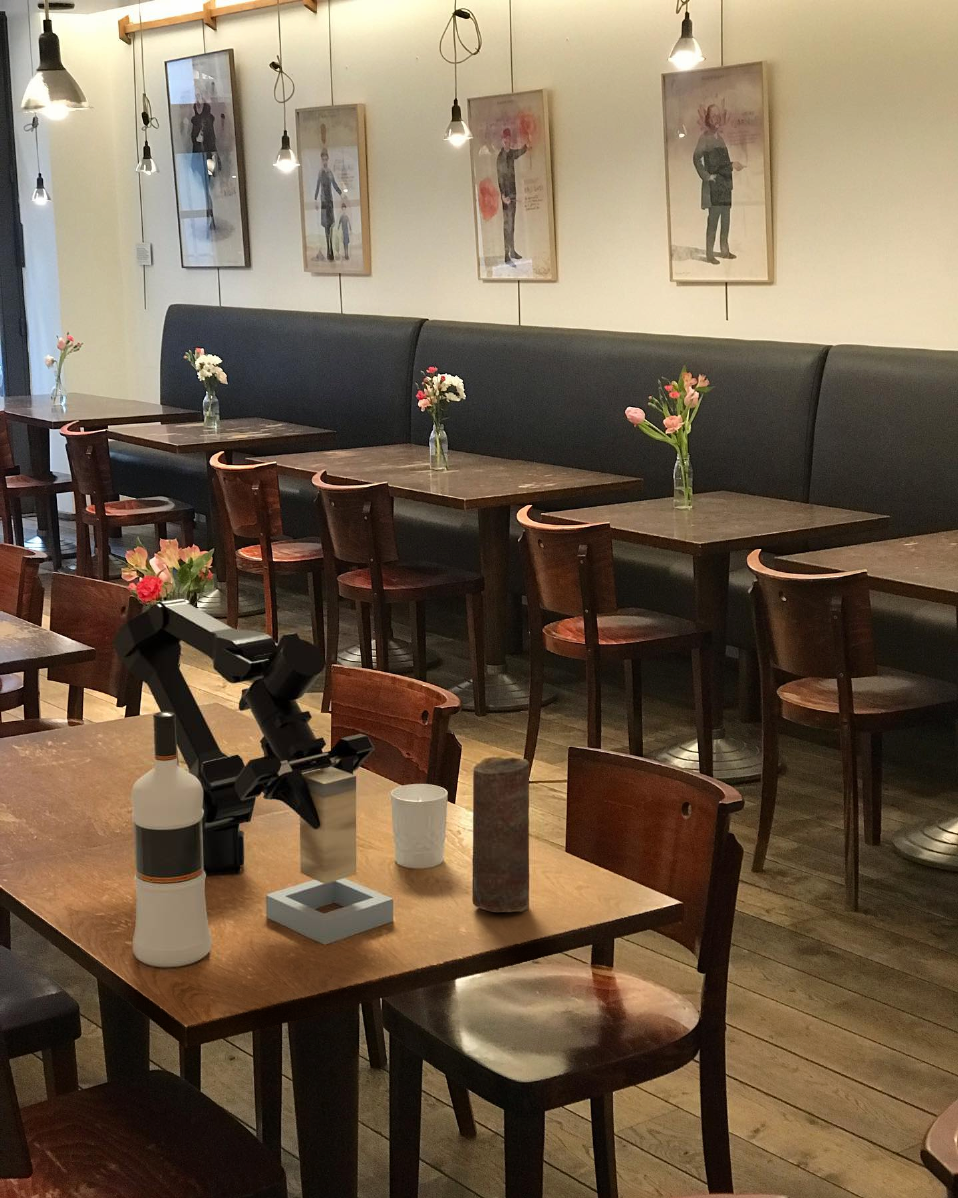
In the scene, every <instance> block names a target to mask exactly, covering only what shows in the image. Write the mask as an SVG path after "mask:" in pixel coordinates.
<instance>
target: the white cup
mask: <svg viewBox="0 0 958 1198" xmlns="http://www.w3.org/2000/svg"><path fill="white" fill-rule="evenodd" d="M390 801H391V805H390V806H391V819H392V820H391V823H392V833H393V843H394V860H395V862H396V864H398V865H400V866H401V867H404V868H409V869H418V870H420V869H430V868H434V867H437V866H439V865H441V864H442V863H443V861H444V857H445V842H446V829H447V814H448V811H447V810H448V790H447V789H445V788H444V787H441V786H438V785H434V784H430V783H429V784H428V783H413V784H404V785H401V786H397V787H395V788H393V789H392V790H391V791H390Z"/></svg>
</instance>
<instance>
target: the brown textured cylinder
mask: <svg viewBox="0 0 958 1198" xmlns="http://www.w3.org/2000/svg"><path fill="white" fill-rule="evenodd" d="M472 777H473V778H472V780H473V781H472V783H473V785H472V786H473V787H472V793H473V794H472V797H473V798H472V808H473V809H472V880H471V881H472V883H471V885H472V886H471V887H472V891H471V892H472V895H471V896H472V897H471V898H472V899H471V900H472V904H473V905H474V906H475V907H476V908H480V909H483V910H485V911H489V912H492V913H514V912H519V913H520V912H523V911H526V910H529V908H530V814H529V813H530V763H529V761H528V759H525V758H524V759H523V758H520V757H519V758H518V757H506V758H503V757H502V756H501V757H500V756H496V757H495V756H492V757H490V756H489V757H485V758H483V759H482V760H481V761H480V762H478V763H477V764H475V766H473V771H472Z"/></svg>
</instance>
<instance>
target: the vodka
mask: <svg viewBox="0 0 958 1198" xmlns="http://www.w3.org/2000/svg"><path fill="white" fill-rule="evenodd" d="M175 717H176V715H175V714H174V713H173V712H161V711H158V712H156V713H154V714H153V716H152V718H153V724H152V725H153V739H154V740H153V745H154V747H153V748H154V767H153V768H152V769H150V770H149V771H147V772H146V773H144V774H143V775H142V776H141V777H139V778H138V779H137V780H136V781H135V782H134V783H133V787H132V789H131V792H130V801H131V803H130V804H131V807H132V813H131V819H132V821H133V831H134V832H133V833H134V834H133V835H134V854H135V855H134V858H135V859H134V860H135V861H134V862H135V874H134V878H133V882H134V885H135V895H136V902H135V904H136V905H135V925H134V934H133V936H132V951H133V954H134V955H135V958H136V959H137V960H138V961H140V962H142V963H144V964H146V965H148V966H151V967H157V968H167V969H169V968H178V967H184V966H189V965H191V964H194V963H196V962H198V961H200V960H202V959H203V958H205V957H206V956H207V955H208V953H209V952H210V950H211V947H212V933H211V932H212V931H211V929H210V927H209V922H208V914H207V905H206V903H207V902H206V894H205V891H206V890H205V887H206V886H205V885H206V883H205V880H206V878H207V875H206V874H205V871H204V867H203V833H202V817H203V814H204V811H203V809H202V805H203V788H202V786H201V783H200V781H199V780H198V779H197V778H196V777H195V776H194V775H192V774H190V773H189V771H187V770H185V769H184V768H182V767H180V766H179V765H178V756H177V755H178V754H177V751H178V750H177V749H178V747H177V744H176V732H175V731H176V723H175V722H176V721H175V719H176V718H175Z"/></svg>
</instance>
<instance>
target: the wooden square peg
mask: <svg viewBox="0 0 958 1198" xmlns="http://www.w3.org/2000/svg"><path fill="white" fill-rule="evenodd" d="M302 775H303V778H304V780H305V783H306V785H307V788H308V790H309V793H310V795H311V798H312V801H313V803H314V806H315V808H316V811H317V813H318V817H319V820H320V824H321V825H320V827H319V828H318V829H314V828H312V827H311V826H310V825H309V824H308V823H307V822H306V821H305V820H304V819H303V818H302V817H300V816H299V841H300V842H299V846H300V847H299V848H300V849H299V852H300V854H299V855H300V863H299V864H300V865H299V866H300V874H302V875H303V876H305V877H308V878H309V879H312V880H317V881H319V882H321V883H324V884H327V883H330V882H333V881H337V880H340V879H343V878H345V879H347V878H349V877H352V876H355V875H357V775H355V774H354V773H353V774H350V773H347V772H345V771H342V770H339V769H336V768H334V767H327V768H323V769H318V770H314V771H310V772H306V773H302Z"/></svg>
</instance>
